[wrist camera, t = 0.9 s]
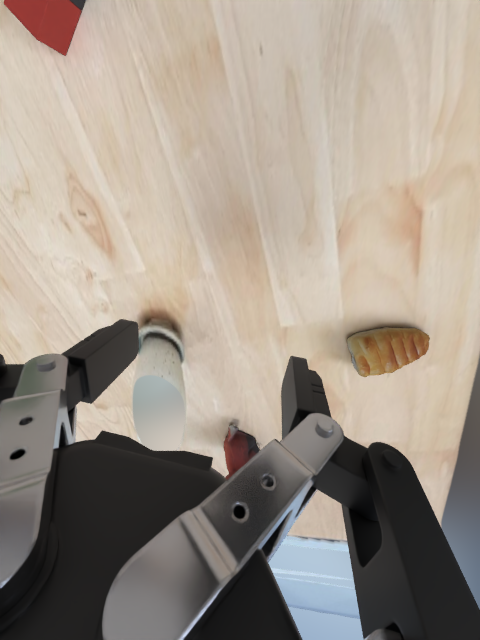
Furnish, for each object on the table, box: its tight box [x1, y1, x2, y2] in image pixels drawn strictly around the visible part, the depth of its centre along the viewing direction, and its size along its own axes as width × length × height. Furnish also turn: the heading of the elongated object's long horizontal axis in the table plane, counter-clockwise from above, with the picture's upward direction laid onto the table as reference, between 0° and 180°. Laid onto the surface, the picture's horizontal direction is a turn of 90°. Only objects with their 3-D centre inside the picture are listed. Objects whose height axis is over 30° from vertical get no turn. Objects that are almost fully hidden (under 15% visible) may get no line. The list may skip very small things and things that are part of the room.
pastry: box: [347, 327, 430, 377], centre depth 31 cm, size 9×7×4 cm
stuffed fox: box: [224, 425, 260, 480], centre depth 43 cm, size 8×11×12 cm
